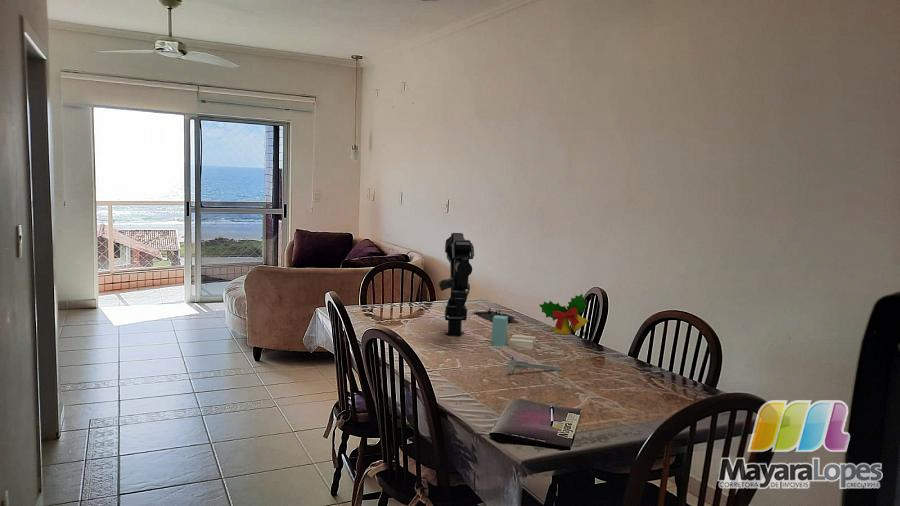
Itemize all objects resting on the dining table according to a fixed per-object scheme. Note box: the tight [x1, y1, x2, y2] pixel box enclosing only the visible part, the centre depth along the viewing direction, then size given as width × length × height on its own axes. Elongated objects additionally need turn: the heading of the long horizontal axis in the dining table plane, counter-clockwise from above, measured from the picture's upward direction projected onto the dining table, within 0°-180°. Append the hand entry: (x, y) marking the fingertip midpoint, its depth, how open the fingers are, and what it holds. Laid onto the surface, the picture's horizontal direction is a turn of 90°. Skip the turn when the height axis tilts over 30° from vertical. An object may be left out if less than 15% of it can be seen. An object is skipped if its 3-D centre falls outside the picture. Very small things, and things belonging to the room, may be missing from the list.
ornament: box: [538, 293, 589, 335], centre depth 271 cm, size 22×9×16 cm, turn 62°
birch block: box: [508, 334, 537, 351], centre depth 247 cm, size 9×9×4 cm
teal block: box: [491, 315, 508, 347], centre depth 248 cm, size 5×5×11 cm
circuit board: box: [472, 307, 520, 324], centre depth 297 cm, size 25×14×3 cm, turn 25°
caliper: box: [506, 356, 563, 376], centre depth 214 cm, size 21×1×6 cm, turn 111°
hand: (459, 311), depth 245 cm, fingers open, 9 cm apart
